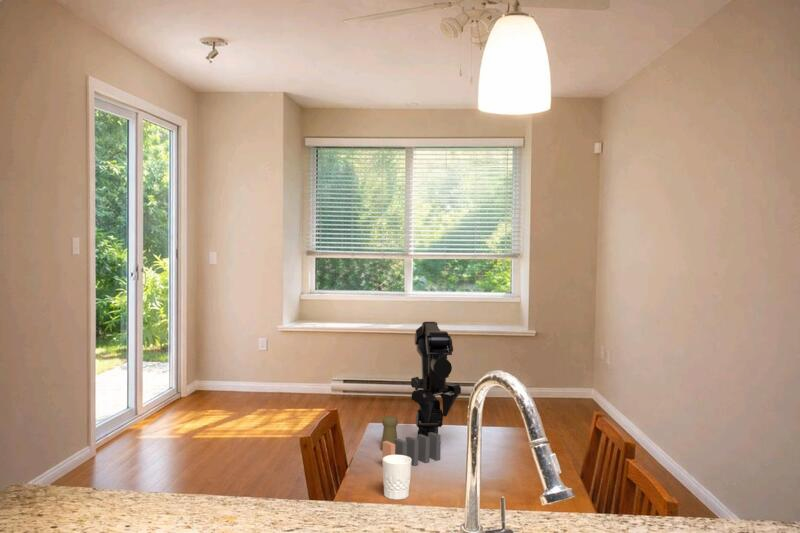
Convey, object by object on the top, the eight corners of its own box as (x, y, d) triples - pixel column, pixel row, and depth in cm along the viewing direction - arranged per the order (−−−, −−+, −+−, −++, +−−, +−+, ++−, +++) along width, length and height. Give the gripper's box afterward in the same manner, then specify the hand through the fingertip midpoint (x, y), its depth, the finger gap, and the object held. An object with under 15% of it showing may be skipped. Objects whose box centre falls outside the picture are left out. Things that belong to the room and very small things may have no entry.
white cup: (400, 502, 180) (401, 465, 179) (376, 496, 184) (377, 460, 183) (416, 494, 186) (416, 458, 186) (392, 488, 190) (392, 452, 190)
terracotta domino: (386, 466, 209) (386, 440, 209) (394, 470, 205) (395, 444, 205) (382, 467, 208) (382, 441, 208) (390, 471, 204) (391, 445, 204)
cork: (399, 447, 229) (400, 414, 229) (397, 452, 223) (398, 419, 223) (381, 446, 230) (382, 414, 230) (379, 451, 224) (380, 418, 224)
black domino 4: (398, 463, 212) (398, 438, 211) (406, 467, 208) (407, 441, 208) (393, 464, 211) (394, 439, 210) (402, 468, 207) (402, 442, 207)
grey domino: (420, 458, 217) (421, 434, 217) (429, 462, 214) (429, 437, 213) (416, 459, 216) (417, 434, 216) (425, 463, 213) (425, 438, 212)
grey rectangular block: (409, 461, 214) (409, 436, 214) (418, 465, 211) (418, 439, 211) (405, 462, 213) (405, 437, 213) (413, 466, 210) (414, 440, 210)
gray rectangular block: (431, 456, 220) (431, 432, 220) (440, 460, 216) (440, 435, 216) (427, 457, 219) (428, 432, 219) (436, 460, 215) (436, 436, 215)
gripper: (436, 363, 229) (434, 409, 230) (399, 370, 215) (397, 419, 216) (462, 368, 222) (461, 415, 223) (425, 376, 208) (424, 426, 209)
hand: (436, 418), depth 218 cm, fingers open, 9 cm apart
